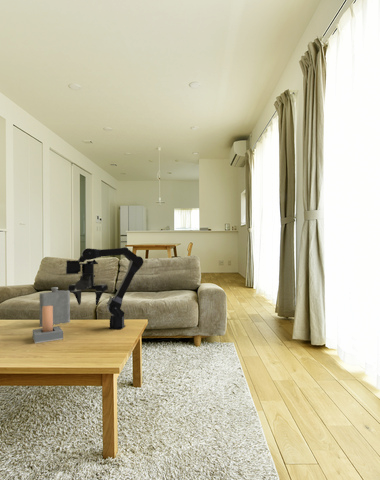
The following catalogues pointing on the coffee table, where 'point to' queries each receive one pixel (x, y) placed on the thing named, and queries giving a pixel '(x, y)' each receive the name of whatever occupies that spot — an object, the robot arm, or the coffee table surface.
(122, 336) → the coffee table surface
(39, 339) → the socket block
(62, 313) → the hip flask
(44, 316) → the pin
